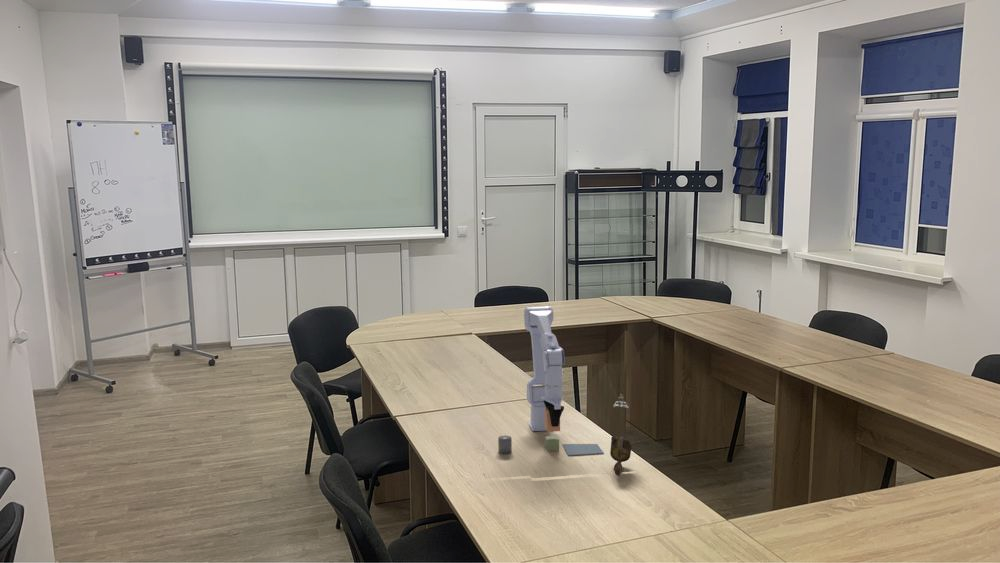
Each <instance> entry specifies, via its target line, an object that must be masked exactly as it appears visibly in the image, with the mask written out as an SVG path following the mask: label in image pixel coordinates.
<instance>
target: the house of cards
mask: <svg viewBox="0 0 1000 563" xmlns="http://www.w3.org/2000/svg"><path fill="white" fill-rule="evenodd" d="M620 399H624V396H623V394H622V393H621V394H620V395H619V397H618V400H619V401H618V400H617V401H615V403H614V404H613V408H620V407H622V408H623V409H624V408H627V409H629V405H628V404H627V402H626V401H621V400H620Z"/></svg>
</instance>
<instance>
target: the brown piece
mask: <svg viewBox="0 0 1000 563" xmlns="http://www.w3.org/2000/svg"><path fill="white" fill-rule="evenodd" d="M610 440H611V441H610V451H609V454H610V458H612V460H614V461H616V462H615V464H614V465H613V471H614V474H615V476H617V477H618V476H621V474H622V473H623V471H624V468H623V467H624V466H623V464H622V463H623V462H627V461H629V459H630V458H631V454H632V448H633V446H632V442H631V441H630V440H628V439H627V438H625V437H624V436H620V437H618V436H611V439H610Z"/></svg>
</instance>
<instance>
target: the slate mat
mask: <svg viewBox="0 0 1000 563" xmlns="http://www.w3.org/2000/svg"><path fill="white" fill-rule="evenodd" d="M561 446H562V447H563V450H564V451H565V453H566V455H567V456H568V457H574V456H577V457H578V456H592V455H593V456H594V455H604V454H605V453H604V451H603V449H601V447H600V446H599V444H598V443H561Z"/></svg>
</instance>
